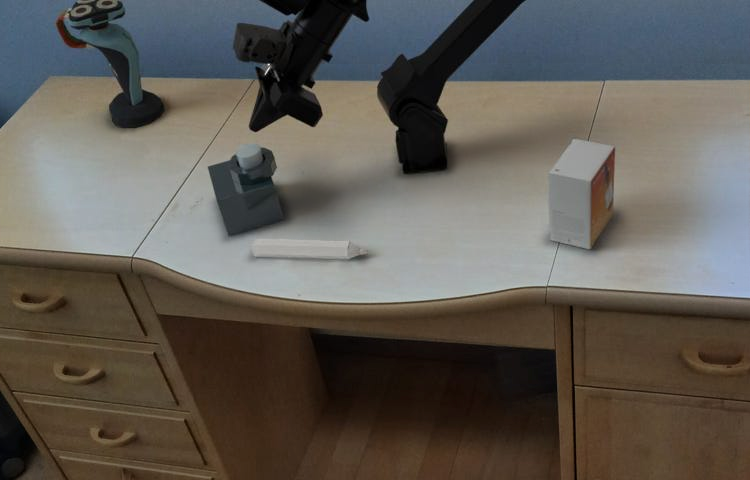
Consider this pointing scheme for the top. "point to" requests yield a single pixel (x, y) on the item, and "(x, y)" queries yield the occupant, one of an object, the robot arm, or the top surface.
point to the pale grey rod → (306, 249)
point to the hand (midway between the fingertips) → (252, 129)
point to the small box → (581, 193)
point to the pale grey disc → (249, 156)
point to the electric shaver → (113, 58)
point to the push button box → (246, 194)
